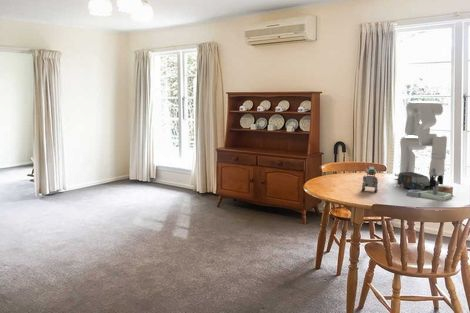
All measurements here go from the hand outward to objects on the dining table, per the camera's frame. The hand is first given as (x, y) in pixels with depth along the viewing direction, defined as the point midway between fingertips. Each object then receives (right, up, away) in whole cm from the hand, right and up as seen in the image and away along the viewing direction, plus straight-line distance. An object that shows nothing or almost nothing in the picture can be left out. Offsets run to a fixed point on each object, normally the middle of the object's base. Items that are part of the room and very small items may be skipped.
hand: (436, 185), depth 246 cm
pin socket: (-10, -6, +6) cm, 13 cm away
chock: (+10, -6, +9) cm, 15 cm away
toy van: (-3, -5, +22) cm, 23 cm away
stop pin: (0, -7, +1) cm, 7 cm away
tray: (0, -7, +1) cm, 7 cm away
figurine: (-33, -5, +18) cm, 38 cm away
